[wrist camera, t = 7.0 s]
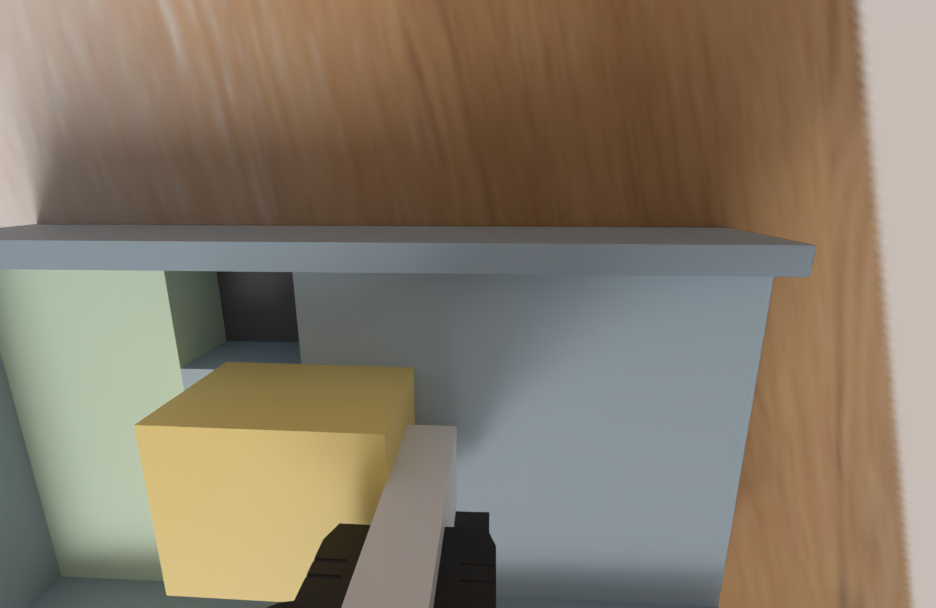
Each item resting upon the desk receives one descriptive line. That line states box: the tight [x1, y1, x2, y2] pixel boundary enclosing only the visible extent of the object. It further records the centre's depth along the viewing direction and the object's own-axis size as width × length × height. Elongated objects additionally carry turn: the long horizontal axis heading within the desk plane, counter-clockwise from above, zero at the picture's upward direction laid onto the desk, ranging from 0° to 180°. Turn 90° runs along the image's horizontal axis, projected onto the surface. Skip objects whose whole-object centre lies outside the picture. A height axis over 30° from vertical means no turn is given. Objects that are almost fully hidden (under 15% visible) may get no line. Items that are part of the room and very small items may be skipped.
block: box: [134, 362, 415, 602], centre depth 14 cm, size 5×6×4 cm
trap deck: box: [0, 224, 816, 608], centre depth 16 cm, size 14×25×6 cm, turn 90°
